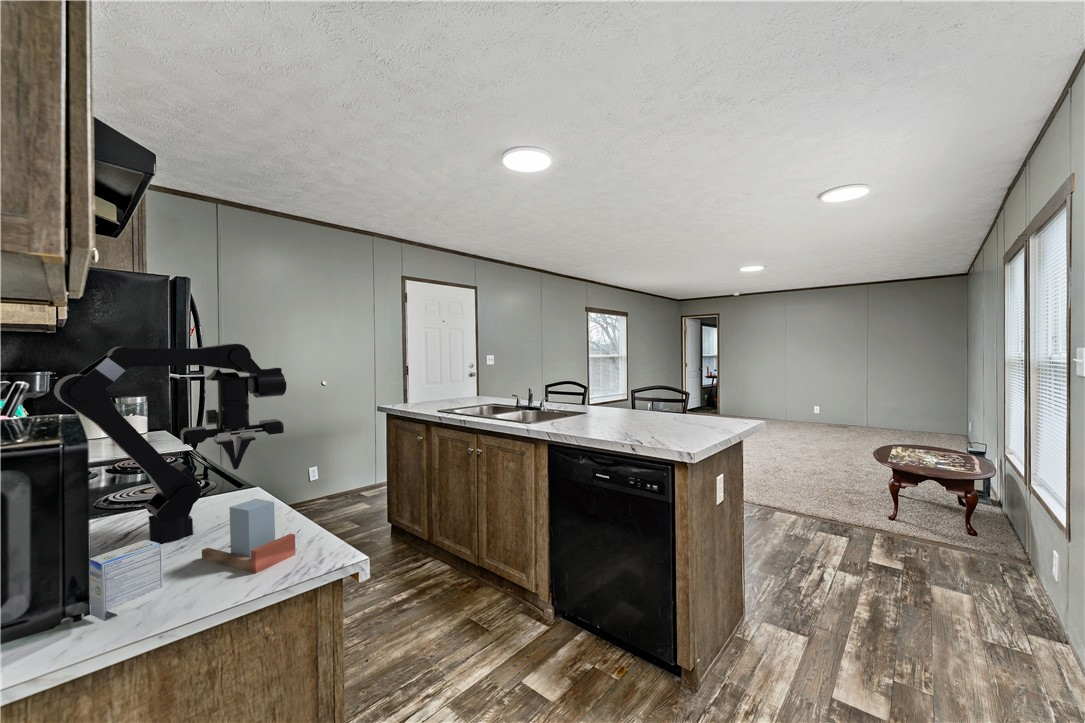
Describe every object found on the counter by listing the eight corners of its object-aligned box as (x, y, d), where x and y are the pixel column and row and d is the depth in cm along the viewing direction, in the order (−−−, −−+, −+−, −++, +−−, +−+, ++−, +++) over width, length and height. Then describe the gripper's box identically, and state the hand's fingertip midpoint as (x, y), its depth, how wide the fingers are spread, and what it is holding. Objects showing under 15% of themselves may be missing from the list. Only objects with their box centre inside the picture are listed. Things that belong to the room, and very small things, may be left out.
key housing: (197, 567, 85) (196, 539, 85) (244, 548, 94) (244, 522, 94) (253, 583, 80) (253, 553, 80) (299, 560, 88) (298, 533, 88)
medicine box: (148, 590, 78) (146, 538, 78) (164, 595, 76) (162, 543, 76) (87, 615, 71) (85, 558, 70) (104, 622, 69) (101, 564, 69)
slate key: (231, 561, 85) (229, 507, 85) (256, 550, 89) (255, 498, 89) (250, 566, 83) (248, 510, 83) (275, 554, 88) (274, 501, 87)
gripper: (271, 394, 117) (273, 456, 117) (176, 400, 104) (179, 469, 104) (283, 397, 108) (285, 464, 109) (182, 404, 96) (185, 480, 96)
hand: (235, 469), depth 105 cm, fingers closed
